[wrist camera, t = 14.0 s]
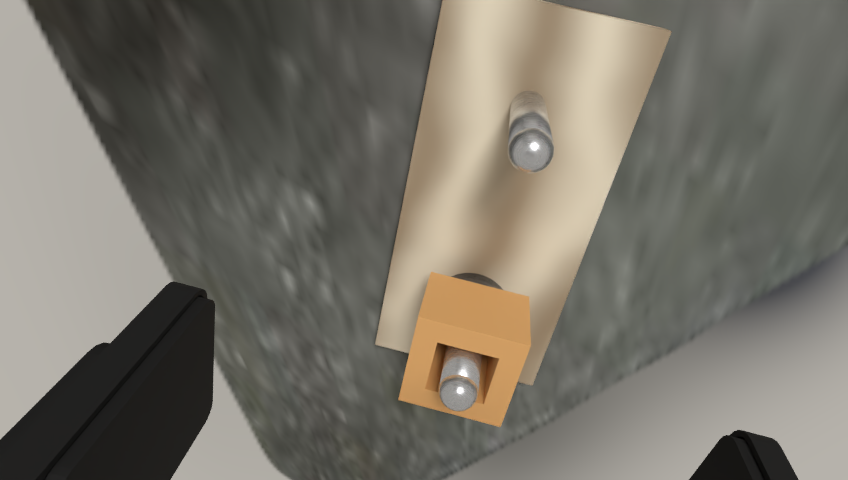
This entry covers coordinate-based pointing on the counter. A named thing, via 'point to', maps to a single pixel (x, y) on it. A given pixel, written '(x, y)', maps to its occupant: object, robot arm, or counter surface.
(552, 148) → the stand rod
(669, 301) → the counter surface
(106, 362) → the robot arm
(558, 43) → the board
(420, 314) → the collar
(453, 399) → the metal peg
